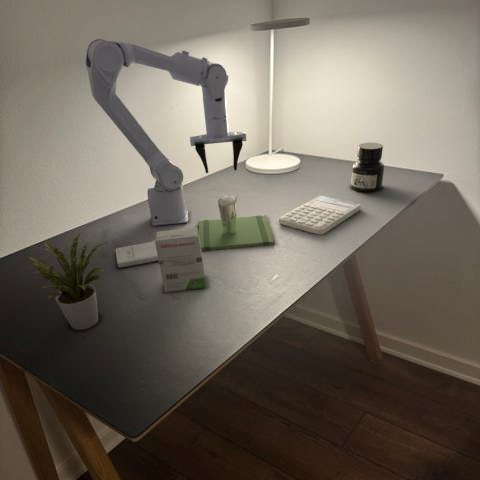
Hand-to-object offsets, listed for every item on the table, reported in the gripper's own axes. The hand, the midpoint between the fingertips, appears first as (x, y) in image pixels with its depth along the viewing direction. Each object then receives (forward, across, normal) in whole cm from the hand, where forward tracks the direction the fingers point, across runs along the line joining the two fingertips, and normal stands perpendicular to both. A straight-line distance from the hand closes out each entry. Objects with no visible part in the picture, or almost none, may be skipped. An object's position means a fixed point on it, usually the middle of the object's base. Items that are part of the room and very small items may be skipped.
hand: (221, 170), depth 121 cm
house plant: (+10, -28, -50) cm, 58 cm away
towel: (+10, +2, -18) cm, 21 cm away
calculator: (+11, +25, -12) cm, 30 cm away
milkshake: (+10, +1, -19) cm, 22 cm away
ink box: (+10, -10, -41) cm, 44 cm away
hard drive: (+10, -20, -26) cm, 35 cm away
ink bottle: (+11, +43, +6) cm, 44 cm away
